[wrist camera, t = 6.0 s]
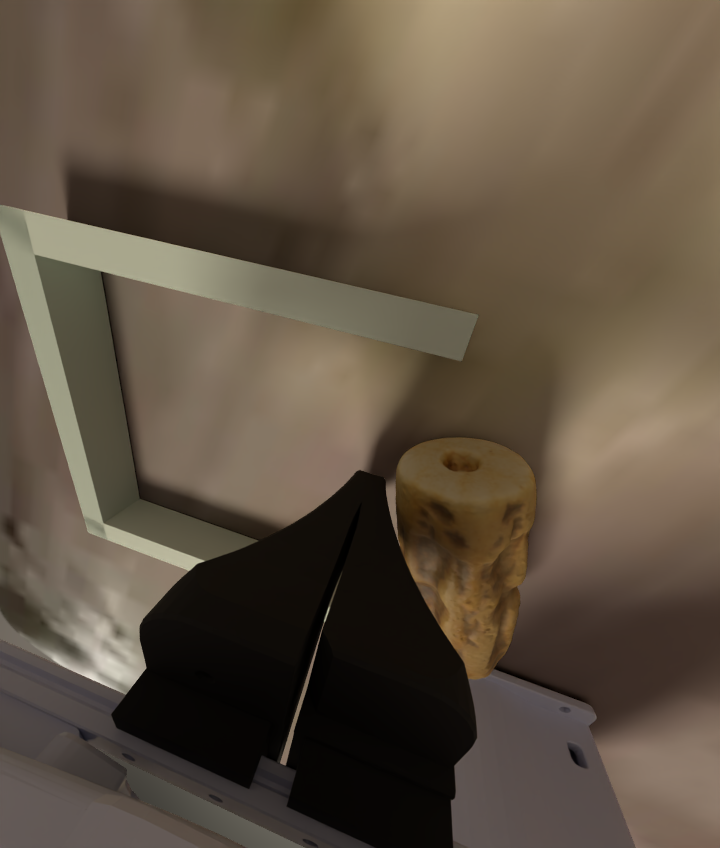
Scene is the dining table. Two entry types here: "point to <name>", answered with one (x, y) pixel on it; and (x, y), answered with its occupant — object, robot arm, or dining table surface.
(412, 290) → the dining table surface
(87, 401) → the pale grey flat frame
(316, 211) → the dining table surface
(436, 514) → the carved stone cylinder
